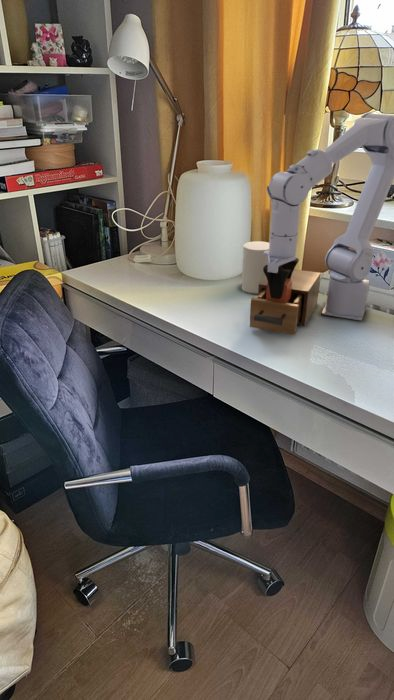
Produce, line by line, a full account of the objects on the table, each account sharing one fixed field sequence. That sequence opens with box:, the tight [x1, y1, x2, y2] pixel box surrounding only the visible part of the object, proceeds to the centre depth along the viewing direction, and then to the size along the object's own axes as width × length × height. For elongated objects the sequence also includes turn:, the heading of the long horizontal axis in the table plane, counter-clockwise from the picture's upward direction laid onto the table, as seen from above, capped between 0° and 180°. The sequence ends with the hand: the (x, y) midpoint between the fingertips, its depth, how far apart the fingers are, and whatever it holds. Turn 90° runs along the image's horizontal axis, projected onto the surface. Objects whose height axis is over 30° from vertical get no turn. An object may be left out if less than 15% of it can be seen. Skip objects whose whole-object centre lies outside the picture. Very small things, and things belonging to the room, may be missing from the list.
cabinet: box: [257, 268, 321, 327], centre depth 116 cm, size 14×12×9 cm
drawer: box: [249, 288, 305, 336], centre depth 108 cm, size 17×10×7 cm, turn 156°
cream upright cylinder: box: [241, 240, 270, 295], centre depth 129 cm, size 8×8×12 cm
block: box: [266, 278, 292, 303], centre depth 106 cm, size 4×4×4 cm
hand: (279, 293), depth 106 cm, fingers closed on block, 4 cm apart
